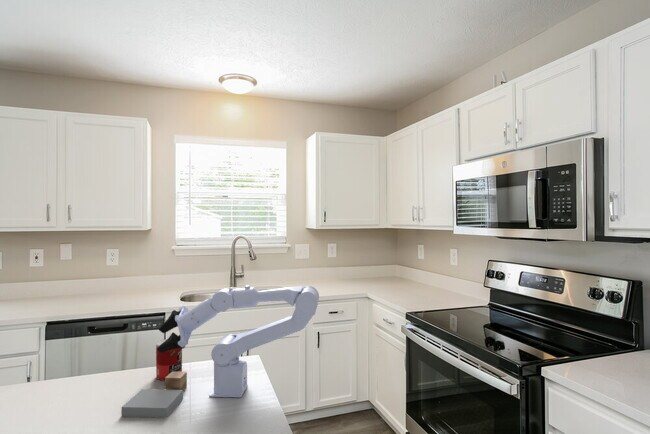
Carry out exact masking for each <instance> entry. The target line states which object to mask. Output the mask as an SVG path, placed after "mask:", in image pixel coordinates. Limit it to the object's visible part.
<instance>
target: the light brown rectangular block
mask: <svg viewBox="0 0 650 434" xmlns="http://www.w3.org/2000/svg"><path fill="white" fill-rule="evenodd" d="M187 377H188V373H187V371H182V372H176V371H172V372H171V373H170V374H169V375H168V376H167V377H166V378H165V380H164V382H165V383H164V390H183V393H184V392H185V391H186V389H187V388H188V387H187V386H188V385H187V384H188V383H187V382H188V380H187V379H188V378H187Z"/></svg>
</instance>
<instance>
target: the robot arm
mask: <svg viewBox="0 0 650 434" xmlns="http://www.w3.org/2000/svg"><path fill="white" fill-rule="evenodd" d="M319 298H320V295H319V291H318V290H317V289H316V288H315V287H314V286H311V285H310V286H308V285H306V286H302V285H297V286H295V285H294V286H287V287H279V288H271V289H263V290H259V289H257V288H256V287H254V286H251V285H245V286H244V287H241V288H234V287H233V286H232V287H229V288H221V289H219V290H218V291H217V292H216V293H214V294H212V296H209V298H207V299H204V300H203V301H202V302H200V303H198V304H196V305H195V306H194V307H192V308H191V309H189V308H187V306H185V305H181V307H180V308H178V311H177V310H175V309H173V310H172V311H171V313H170V315H169V316H168V318H167V319H166V320H165V321H164V323H162V325H160V327H158V331H159V332H160V333H162V334H166V333H168V332H169V331H171V330H173V329H175V328H178V331H179V335H178V334H176V333H175V332H171V334H170V335H169V336H168V337H167V338H166V339H167V340H166V341H165V342H164V343H162V344H161V345H160V346H159V347H158V348H157V350H158V351H159V352H161V353H163V352H166V351H169V350H172V349H182V350H183V349H185V348H186V346H188V345H189V340H190V338H191V335H192V333H193V331H194V330H196V329H198V328H199V327H201V326H203V325H204V324H205V323H207V322H209V321H210V320H211V319H213V318H215V317H216V316H217V315H218V314H220V313H221V312H222V313H223V312H226V311H228V310H229V309H241V308H253V307H257V305H258V304H259V303H263V302H264V303H265V302H286V303H287V304H288V305H290V306H291V307H295V309H294V311H293V313H292V315H289V316H286V317H284V318H282V319H279V320H277V321H273V322H271V323H268V324H265V325H262V326H260V327H258V328H256V329H255V328H254V329H252V330H249V331H247V332H244V333H243V332H240V333H239V332H238V333H236V334H232V333H229V334H226V335H224V336H223V337H222V338H221V340H220V341H219V342H218V343H217V344H216V345H215V346H214V347H213V348H212V350H211V353H210V356H211V360H212V361H213V389H212V390H211V392H209V395H208V397H210V398H211V397H213V398H242V397H243V395H244V393H245V391H246V389H247V387H248V385H249V384H248V363H247V361H244V360H242V359H241V360H240V356H241V355H243V354H244V353H246V352H247V351H249V350H252V349H255V348H258V347H260V346H263V345H266V344H269V343H271V342H274V341H276V340H278V339H279V340H280V339H281V338H284V337H287V336H290V335H293V334H294V333H297V332H300V331H303V330H304V329H305V328H306V326H307V325H308V324H309V322H310V321H311V319H312V318H313V317H314V316H315V314H316V312H317V307H318V305H319V304H318V302H319V300H320V299H319ZM294 305H295V306H294Z"/></svg>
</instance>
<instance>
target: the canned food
mask: <svg viewBox="0 0 650 434" xmlns="http://www.w3.org/2000/svg"><path fill="white" fill-rule="evenodd" d="M167 339H168V338H165V339H161V340H159V341H157V342H156V345H155V347H156V348H155V354H156V355H155V356H156V357H155V361H156V362H155V365H156V366H155V368H156V370H155V371H156V372H155V373H156V374H155V377H156V378H157V379H158V380H160V381H165V378H166V377H167V376H168V375H169V374H170V373H171V372H172V371H176V372H183V349H172V350H169V351H166V352H163V353H161V352H159V351H158V350H157V348H158V347H159V346H160V345H161V344H162V343H164V342H165V341H166V340H167Z"/></svg>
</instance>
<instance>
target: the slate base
mask: <svg viewBox="0 0 650 434" xmlns="http://www.w3.org/2000/svg"><path fill="white" fill-rule="evenodd" d="M183 399H184V392H183V390H165V389H152V388H151V389H150V388H149V389H147V388H146V389H145V388H142V389H140V390H139V391H138V392H137V393H136V394H135V395H134V396H132V398H130V399H129V400H128V401H127V402H125V403H124V404H123V405H122V406H121V417H124V418H132V417H133V418H161V419H162V418H163V419H165V418H166V419H167V418H168V417H169V416H170V415H171V413H173V412H174V410H175V409H176V408H177V406H179V405H180V403H181V402H182V401H183Z"/></svg>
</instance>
